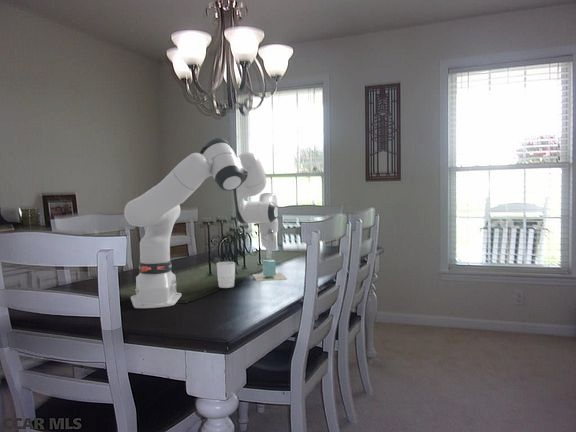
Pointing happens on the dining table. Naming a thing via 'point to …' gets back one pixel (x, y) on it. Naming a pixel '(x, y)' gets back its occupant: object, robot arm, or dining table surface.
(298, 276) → the dining table surface
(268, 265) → the teal upright block
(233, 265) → the white cup
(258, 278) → the post
